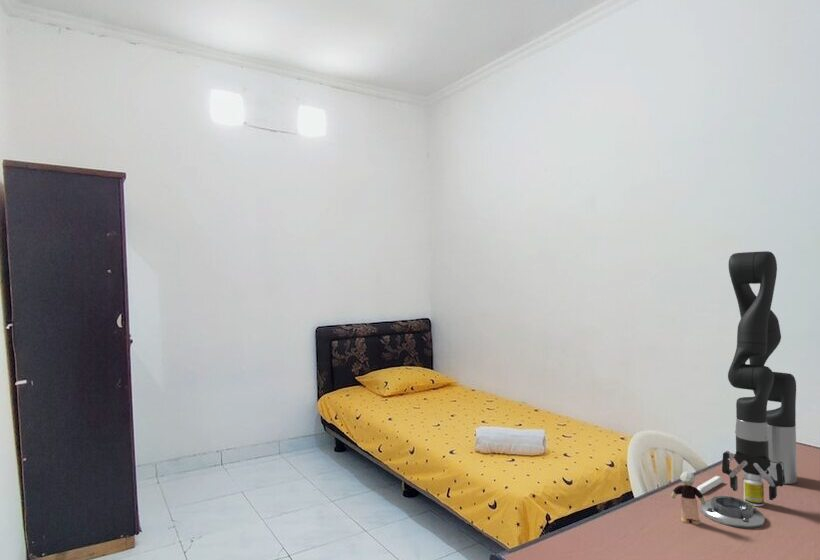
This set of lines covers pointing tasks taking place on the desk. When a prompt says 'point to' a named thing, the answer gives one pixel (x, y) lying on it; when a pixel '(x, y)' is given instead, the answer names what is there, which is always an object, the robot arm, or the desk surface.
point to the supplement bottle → (753, 489)
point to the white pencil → (709, 484)
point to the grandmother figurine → (688, 498)
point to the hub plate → (732, 521)
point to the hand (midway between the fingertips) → (752, 494)
